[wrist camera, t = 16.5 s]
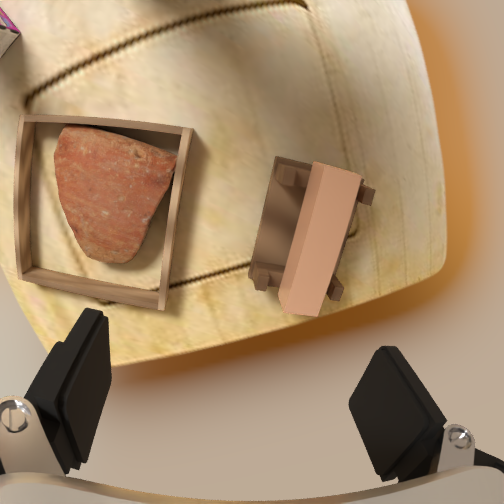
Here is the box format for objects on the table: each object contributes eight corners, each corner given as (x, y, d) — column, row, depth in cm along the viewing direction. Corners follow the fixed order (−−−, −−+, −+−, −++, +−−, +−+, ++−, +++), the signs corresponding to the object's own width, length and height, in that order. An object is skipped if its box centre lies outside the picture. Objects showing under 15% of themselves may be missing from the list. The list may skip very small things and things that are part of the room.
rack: (275, 156, 35) (283, 160, 30) (360, 178, 37) (379, 185, 32) (248, 274, 40) (251, 294, 36) (327, 286, 42) (339, 305, 37)
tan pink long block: (313, 161, 32) (325, 165, 28) (347, 170, 33) (362, 175, 29) (277, 294, 38) (283, 312, 34) (308, 298, 38) (317, 316, 35)
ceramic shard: (27, 240, 30) (62, 116, 28) (54, 233, 37) (87, 125, 34) (129, 289, 32) (176, 152, 29) (146, 274, 38) (187, 158, 36)
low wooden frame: (32, 114, 29) (19, 114, 27) (193, 128, 33) (190, 128, 30) (28, 269, 37) (18, 279, 34) (167, 298, 40) (164, 310, 38)
